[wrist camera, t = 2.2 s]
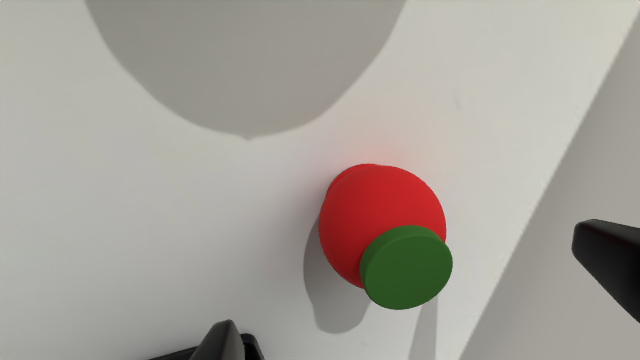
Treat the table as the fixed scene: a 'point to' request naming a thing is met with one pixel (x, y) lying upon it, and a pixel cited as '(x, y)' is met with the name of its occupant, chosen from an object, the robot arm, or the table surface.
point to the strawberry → (386, 235)
